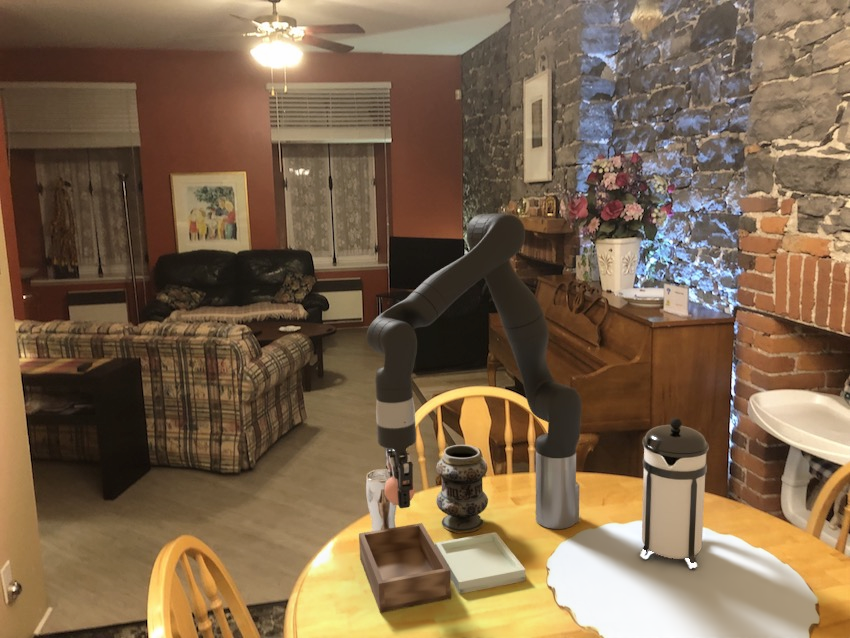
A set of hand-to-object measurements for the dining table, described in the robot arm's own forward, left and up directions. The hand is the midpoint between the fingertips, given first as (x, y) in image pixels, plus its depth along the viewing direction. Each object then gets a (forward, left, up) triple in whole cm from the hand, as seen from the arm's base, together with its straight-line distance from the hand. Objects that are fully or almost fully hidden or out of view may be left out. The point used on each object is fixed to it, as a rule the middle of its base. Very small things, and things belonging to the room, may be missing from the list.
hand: (400, 499), depth 138 cm
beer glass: (0, -18, -17) cm, 25 cm away
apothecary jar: (-19, -18, -17) cm, 31 cm away
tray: (-16, +1, -17) cm, 23 cm away
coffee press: (-57, +8, -17) cm, 60 cm away
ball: (0, 0, +2) cm, 2 cm away
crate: (0, 0, -17) cm, 17 cm away
